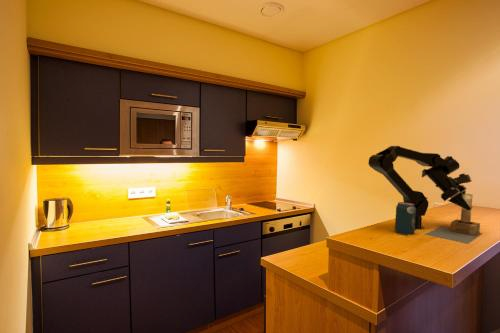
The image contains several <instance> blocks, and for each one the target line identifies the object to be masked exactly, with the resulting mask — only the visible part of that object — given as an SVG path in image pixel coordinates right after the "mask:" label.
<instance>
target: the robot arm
mask: <svg viewBox="0 0 500 333" xmlns="http://www.w3.org/2000/svg"><path fill="white" fill-rule="evenodd" d="M398 158H402V159H406V160H410V161H413V162H416V163H417V164H418V165H420V166H421V167H429V168H428V169H426V168H424V169H423V170H422V171H421V178H424V177H428V178H429V179H430V180H431V182H433V184H435V187H436V188H438V189H439V190H440V191H441V192H442V193H441V194H440V198H441V199H442V200H443V202H446V201H448V202H449V203H452V204H454V205H456V206H458V207H461V209H462V208H465V209H467V210H470V209H471V208H470V206H469V205H468V204H467V202H466V201H465V200H464V198H463V194H467V193H466V192H467V187H466V186H464V184H468V183H471V182H473V181H472V178H471V176H470V175H469V174H465V173H460V174H458V177H454V178H453V177H452V176H449V175H450V174H452V173H455V171H457V170H459V169H460V163H459V162H458V161H457V160H456V159H454V158H453V156H449V155H447V156H446V157H445V158H442V157H441V155H440V154H439V153H436V152H435V153H432V152H431V153H430V152H420V151H418V150H417V151H416V150H413V149H409V148H406V147H401V145H390V146H388V147H387V148H385V149H383V150H381V151H379V152H377V153H376V154H372V155H371V156H370V157H369V158H368V163H367V164H368V166H369V167H370V168H371V169H373V170H374V171H376V172H377V173H378V174H381V175H382V176H383V177H384V178H385V179H386V180H387V181H388V182H389V183H390V184H391V186H393V188H394V189H395V190H396V191H397V192H398V193H399V194H400V195H401V196H402V202H407V203H413V204H414V206H415V208H416V216H415V230H424V227H422V223H423V222H422V221H423V217H424V216H426V215H427V210H428V208H429V201H428V197H426V196H425V194H424V193H423V192H422V191H419V190H413V189H412V188H411V186H410V185H409V184H408V183H407V182H406V181H405V180H404V179H403V178H402V177H401V175H400V174H399V173H398V171H397V170H396V169H395V167H394V162H396V160H397V159H398ZM471 210H472V209H471Z"/></svg>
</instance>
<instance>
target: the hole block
mask: <svg viewBox="0 0 500 333" xmlns="http://www.w3.org/2000/svg"><path fill="white" fill-rule="evenodd" d="M460 221H461V219H458V218H456V219H454V220H452V221H451V222H450V227H451V229H450V232H455V233H460V234H465V235H470V236H476V235H477V234H479V233H481V232H480V230H481V223H479V222H475V221H470V224H465V223H460Z"/></svg>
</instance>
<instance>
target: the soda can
mask: <svg viewBox="0 0 500 333" xmlns="http://www.w3.org/2000/svg"><path fill="white" fill-rule="evenodd" d="M415 216H416V208H415V206H414V204H413V203H407V202H404V201H399V202H397V205H396V206H395V218H394V220H395V221H394V222H395V223H394V230H395V232H396V233H397V234H399V235H403V236H409V235H413V234H414V233H415V231H416V229H415Z"/></svg>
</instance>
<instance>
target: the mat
mask: <svg viewBox="0 0 500 333" xmlns="http://www.w3.org/2000/svg"><path fill="white" fill-rule="evenodd" d="M450 229H451V226H445V225H442V226H440V227H439V226H438V227H437V228H434V229H433V230H431V231H428V232H426V233H425V234H424V235H425V236H429V237H434V238H439V239H442V240H443V239H444V240H446V241H447V240H448V241H452V242H458V243H461V244H467V245H469V244H471V242H473V241H474V240H476V239H477V238H479V237H480V236H481V235H483V233H481V232H480V233H479V234H477V235H476V236H470V235H465V234H460V233H455V232H450Z"/></svg>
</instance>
